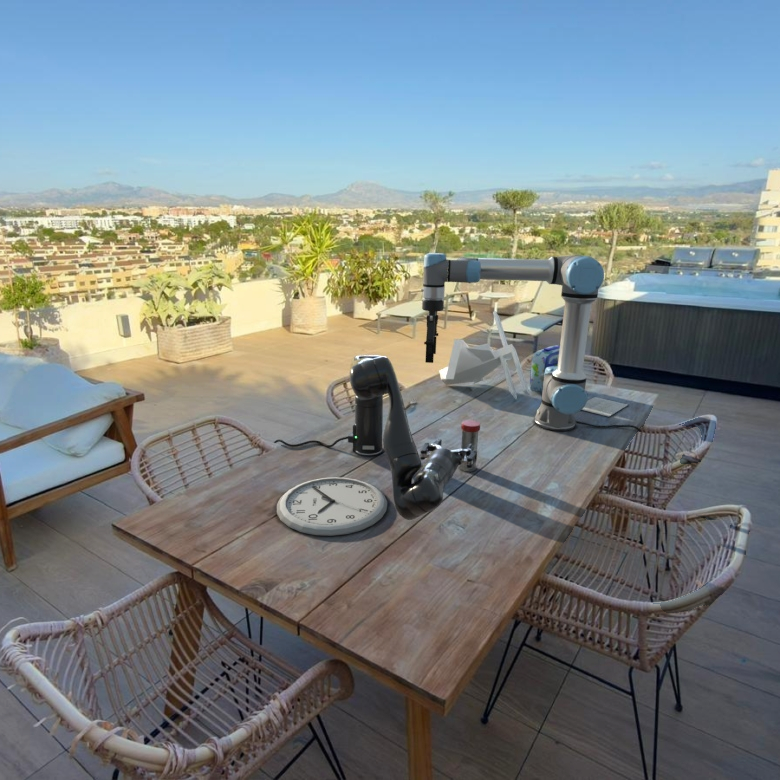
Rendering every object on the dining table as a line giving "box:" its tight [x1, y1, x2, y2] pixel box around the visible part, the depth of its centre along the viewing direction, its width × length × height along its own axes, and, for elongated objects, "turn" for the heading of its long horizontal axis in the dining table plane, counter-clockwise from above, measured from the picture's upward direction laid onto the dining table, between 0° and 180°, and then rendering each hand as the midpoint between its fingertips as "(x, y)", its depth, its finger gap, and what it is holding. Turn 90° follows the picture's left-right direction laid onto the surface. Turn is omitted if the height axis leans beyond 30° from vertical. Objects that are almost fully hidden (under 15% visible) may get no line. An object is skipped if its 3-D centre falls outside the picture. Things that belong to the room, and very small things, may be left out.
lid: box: [460, 419, 481, 433], centre depth 162 cm, size 6×6×2 cm
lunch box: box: [529, 345, 560, 394], centre depth 245 cm, size 26×11×21 cm, turn 134°
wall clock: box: [276, 476, 388, 537], centre depth 142 cm, size 30×2×30 cm
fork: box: [405, 395, 419, 411], centre depth 222 cm, size 3×16×2 cm, turn 160°
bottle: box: [459, 429, 479, 473], centre depth 164 cm, size 5×5×15 cm
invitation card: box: [581, 396, 629, 418], centre depth 226 cm, size 21×1×15 cm
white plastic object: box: [438, 310, 531, 400], centre depth 245 cm, size 37×45×31 cm
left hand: (455, 444), depth 143 cm, fingers open, 8 cm apart
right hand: (430, 358), depth 189 cm, fingers open, 13 cm apart
